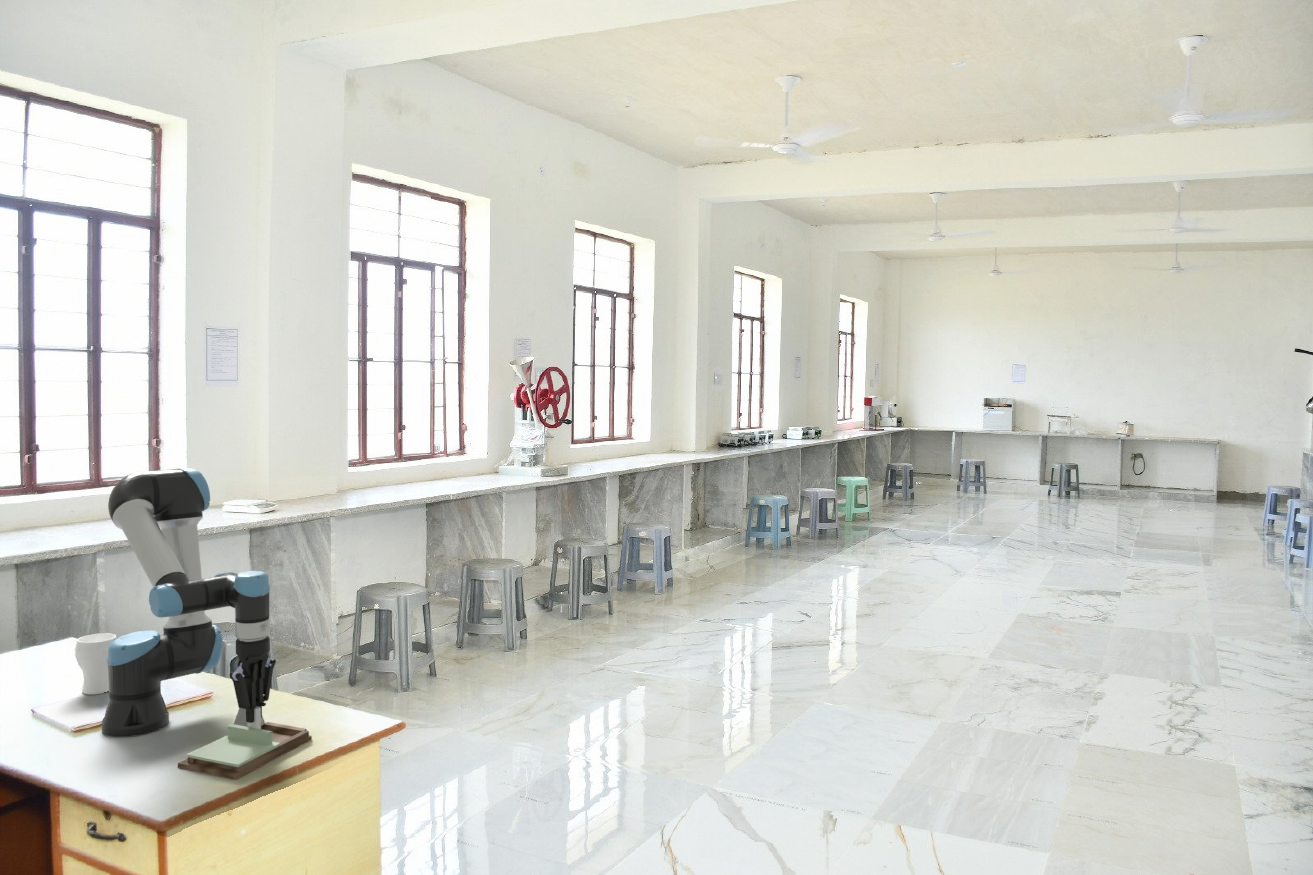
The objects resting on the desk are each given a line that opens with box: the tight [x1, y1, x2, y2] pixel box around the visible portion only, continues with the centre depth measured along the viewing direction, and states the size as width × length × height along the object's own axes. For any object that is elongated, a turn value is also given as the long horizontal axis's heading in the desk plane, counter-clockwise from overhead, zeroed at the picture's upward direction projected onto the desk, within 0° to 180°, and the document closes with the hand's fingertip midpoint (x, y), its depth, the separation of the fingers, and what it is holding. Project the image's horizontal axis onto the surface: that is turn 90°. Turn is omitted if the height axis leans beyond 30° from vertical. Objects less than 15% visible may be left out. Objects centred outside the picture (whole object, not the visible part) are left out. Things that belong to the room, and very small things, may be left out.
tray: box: [177, 721, 313, 780], centre depth 234 cm, size 17×25×2 cm
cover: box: [185, 723, 281, 767], centre depth 228 cm, size 15×14×4 cm
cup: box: [74, 632, 118, 695], centre depth 275 cm, size 11×11×15 cm
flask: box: [233, 707, 265, 727], centre depth 251 cm, size 7×7×10 cm
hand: (254, 733), depth 234 cm, fingers closed
